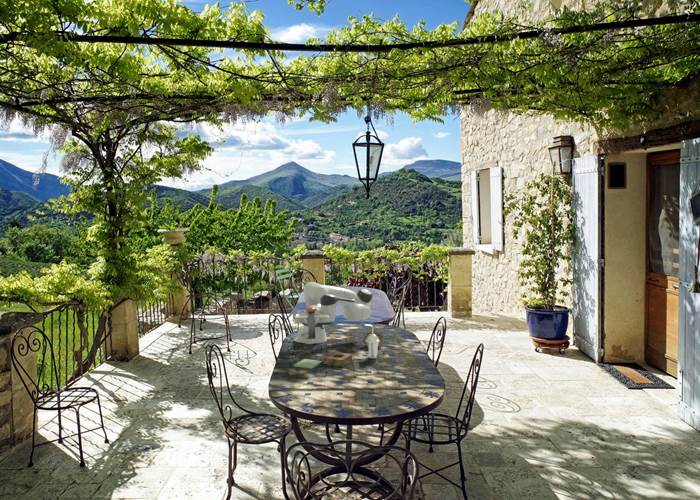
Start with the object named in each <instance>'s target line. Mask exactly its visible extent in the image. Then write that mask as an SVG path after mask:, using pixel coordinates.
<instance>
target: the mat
mask: <svg viewBox="0 0 700 500" xmlns="http://www.w3.org/2000/svg"><path fill="white" fill-rule="evenodd" d="M321 362H322V363H323V360H316V359H307V358H304V359H301V360H300V361H297V362H296V363H295V364H293V367H295V368H305V369H311V370H312V369H314V368H316V367H317V366H319V365H321V364H322V363H321ZM320 363H321V364H320ZM318 364H319V365H318Z"/></svg>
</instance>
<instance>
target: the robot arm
mask: <svg viewBox="0 0 700 500" xmlns="http://www.w3.org/2000/svg"><path fill="white" fill-rule="evenodd" d="M302 289H303V292H304V299H305V306H306V308H307V307H316V308H317V311H315V339H309V338H308V312H307V311H305V310H300V311H297V313H296V314H295V315H294V316H293V318H294V319H293V320H294V324H304V326H303V327H301V328H300V329H299V330H298V331H297V334H296V337H295V338H294V339H293V341H294V342H297V343H302V344H307V345H313V344H320V343H326V342H327V341H328V338H327V335H326V329H325V328H326V326H329V325H332V324H333V323H334V322H335V320H336V319H335V318H336V312H337V311H336V309H337V305H342V308H343V309H342V310H343V314H344V316H345V318H346V319H347V320H348V321H351V322H360V321H361V322H362V321H363V320H366V319H368V318H369V317H370V316H371V313H372V309H371V307H370V305H371V303H372V300H373V294H372V292H371V291H370V290H368V289H365V288H362V289H359V290H358V291H357V292H355V291H353V290H351V289H347V288H344V287H339V286H338V287H337V286H333V285H325V284H321V283H317V282H315V281H309V282H307V283H305V284H304V285H303V288H302Z"/></svg>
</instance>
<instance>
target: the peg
mask: <svg viewBox="0 0 700 500" xmlns="http://www.w3.org/2000/svg"><path fill="white" fill-rule="evenodd" d="M304 309H305V310H304V311H307V312H308V338H309V339H315V311H317V308H316V307H307V306H306V307H305V308H304Z"/></svg>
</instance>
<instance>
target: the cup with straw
mask: <svg viewBox="0 0 700 500" xmlns="http://www.w3.org/2000/svg"><path fill="white" fill-rule="evenodd" d="M363 326H365V327H371V331H372V334H371V335H369V336H368V337H367V339H366V342H367V345H368V346H367V350H368V356H369V359H377V358H378V350H379V345H380V344H379V342H380V339H378V337H377V335H375V334H373V331H374V325H372V324H366V323H363Z"/></svg>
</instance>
